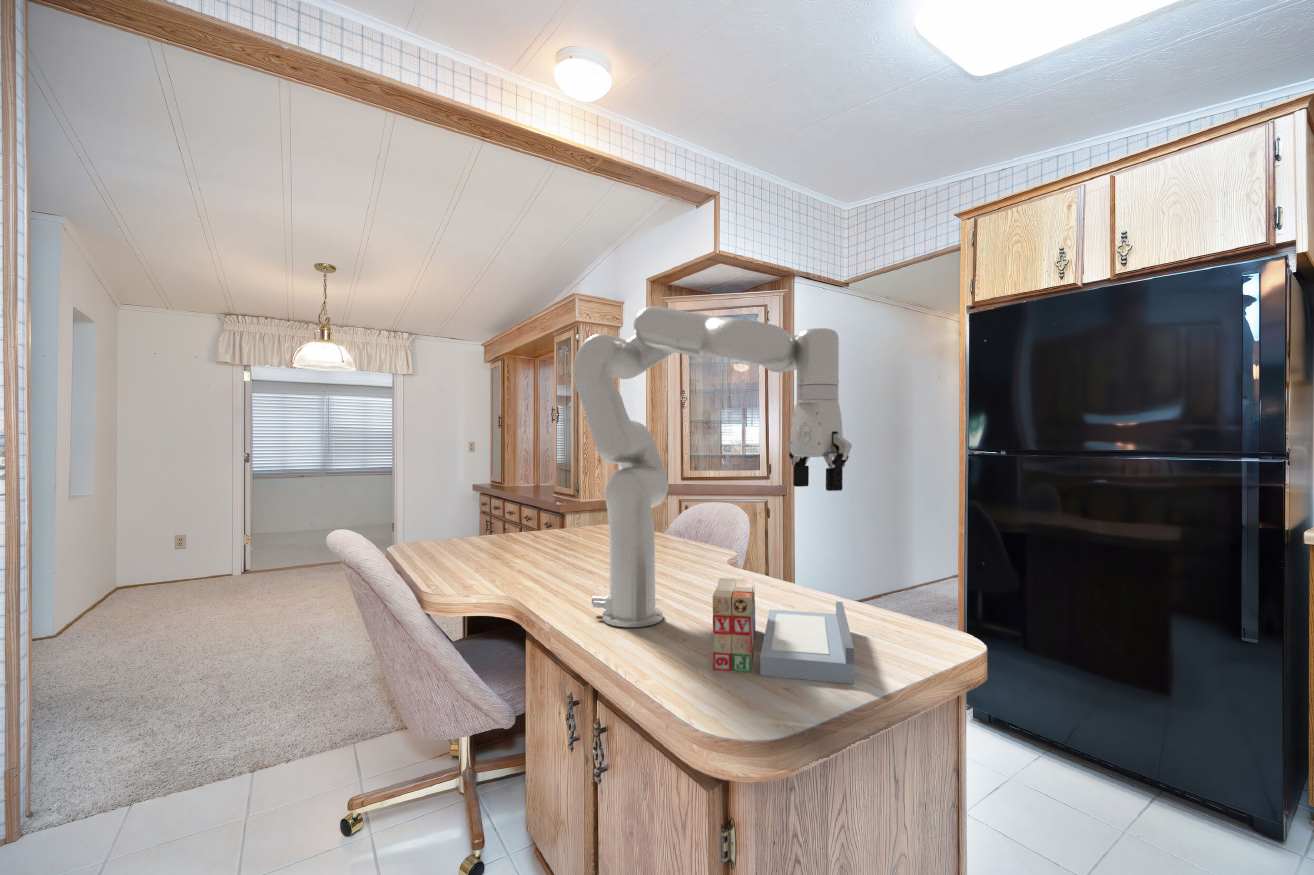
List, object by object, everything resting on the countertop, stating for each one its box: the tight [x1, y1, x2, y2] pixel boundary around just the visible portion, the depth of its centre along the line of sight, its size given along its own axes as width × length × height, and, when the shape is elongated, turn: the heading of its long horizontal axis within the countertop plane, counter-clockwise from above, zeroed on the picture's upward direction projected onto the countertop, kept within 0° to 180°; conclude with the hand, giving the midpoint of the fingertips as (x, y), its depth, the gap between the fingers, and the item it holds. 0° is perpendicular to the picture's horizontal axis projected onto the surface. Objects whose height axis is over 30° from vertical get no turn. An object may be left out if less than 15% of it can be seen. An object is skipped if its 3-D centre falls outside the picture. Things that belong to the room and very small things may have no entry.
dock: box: [759, 601, 855, 685], centre depth 100 cm, size 14×26×5 cm, turn 166°
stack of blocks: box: [712, 577, 756, 674], centre depth 101 cm, size 21×6×12 cm, turn 168°
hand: (816, 488), depth 105 cm, fingers open, 9 cm apart
